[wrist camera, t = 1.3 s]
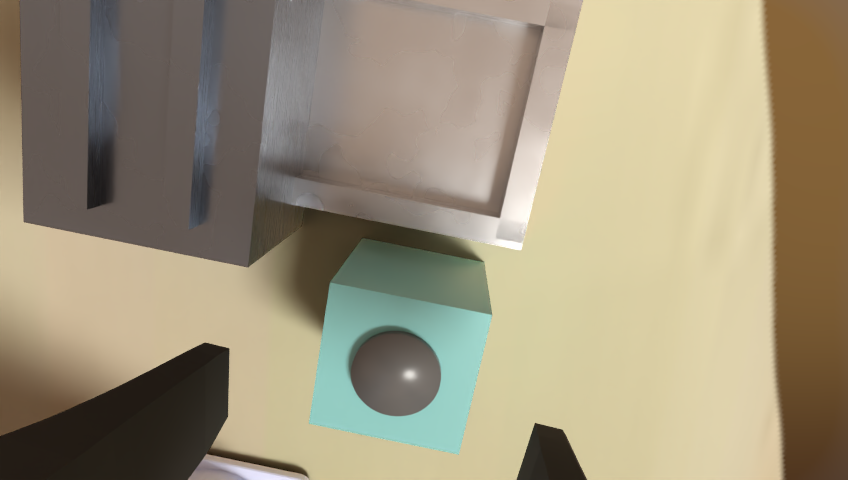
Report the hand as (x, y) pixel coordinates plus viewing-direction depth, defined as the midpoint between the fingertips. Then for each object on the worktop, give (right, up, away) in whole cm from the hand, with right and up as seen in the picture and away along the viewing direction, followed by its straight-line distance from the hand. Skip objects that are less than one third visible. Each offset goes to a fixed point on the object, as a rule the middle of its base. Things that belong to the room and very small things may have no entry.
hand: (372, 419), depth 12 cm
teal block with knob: (+1, +1, +10) cm, 10 cm away
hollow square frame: (-2, +10, +7) cm, 13 cm away
